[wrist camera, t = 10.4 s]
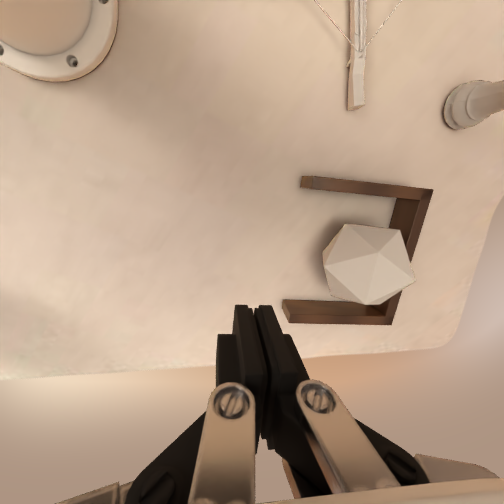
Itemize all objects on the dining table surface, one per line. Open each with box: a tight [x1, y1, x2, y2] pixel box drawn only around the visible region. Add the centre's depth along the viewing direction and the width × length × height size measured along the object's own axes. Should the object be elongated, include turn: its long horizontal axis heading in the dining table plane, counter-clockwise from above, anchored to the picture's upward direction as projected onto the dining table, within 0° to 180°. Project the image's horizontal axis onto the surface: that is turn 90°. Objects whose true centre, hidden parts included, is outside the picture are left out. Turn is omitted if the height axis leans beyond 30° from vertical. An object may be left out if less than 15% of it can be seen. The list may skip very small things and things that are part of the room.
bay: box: [282, 176, 433, 325], centre depth 28 cm, size 13×16×4 cm
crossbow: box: [314, 0, 402, 110], centre depth 22 cm, size 16×13×2 cm
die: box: [322, 223, 416, 305], centre depth 26 cm, size 8×9×10 cm
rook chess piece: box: [443, 80, 504, 130], centre depth 22 cm, size 4×4×8 cm
